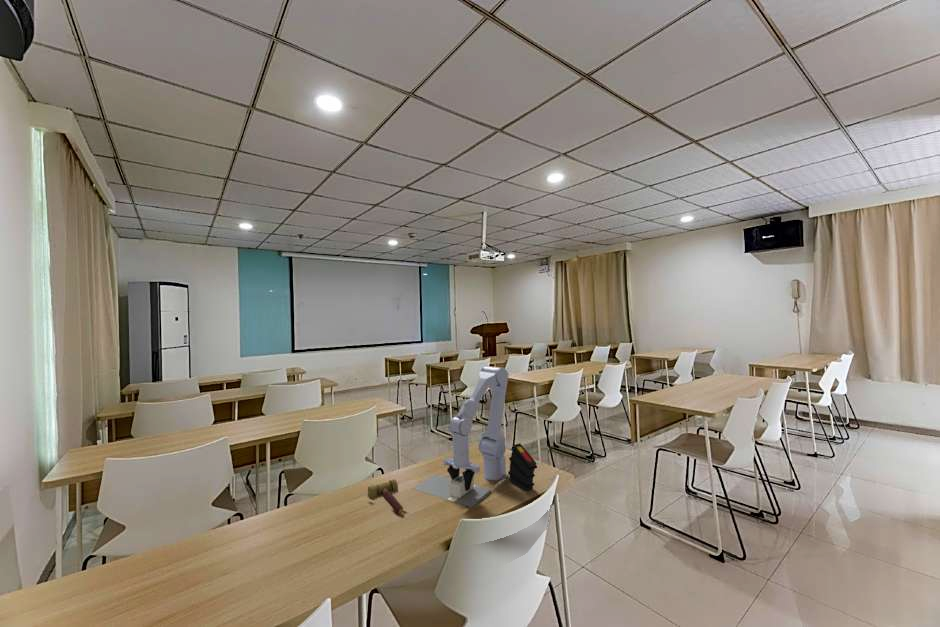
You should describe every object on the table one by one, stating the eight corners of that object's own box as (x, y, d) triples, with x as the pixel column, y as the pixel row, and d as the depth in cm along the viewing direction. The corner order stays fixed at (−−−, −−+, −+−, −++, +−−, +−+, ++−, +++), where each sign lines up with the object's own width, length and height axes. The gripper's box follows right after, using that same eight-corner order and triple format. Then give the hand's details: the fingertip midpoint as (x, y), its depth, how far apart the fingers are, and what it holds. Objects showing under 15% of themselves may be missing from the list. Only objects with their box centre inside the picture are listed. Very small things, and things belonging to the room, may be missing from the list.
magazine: (511, 471, 154) (520, 442, 148) (530, 497, 143) (541, 467, 138) (503, 473, 152) (512, 444, 146) (522, 500, 142) (533, 470, 136)
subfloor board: (435, 476, 155) (435, 474, 155) (491, 492, 140) (491, 489, 140) (412, 491, 143) (411, 488, 143) (469, 509, 129) (469, 506, 129)
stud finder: (464, 484, 144) (463, 472, 144) (473, 487, 142) (473, 474, 141) (449, 494, 136) (449, 481, 136) (459, 497, 134) (459, 484, 134)
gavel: (417, 503, 128) (388, 512, 123) (417, 516, 129) (388, 526, 123) (393, 477, 146) (367, 484, 140) (393, 488, 146) (367, 496, 141)
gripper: (438, 450, 140) (439, 487, 140) (471, 458, 131) (472, 497, 132) (449, 444, 145) (450, 480, 146) (482, 451, 137) (483, 489, 138)
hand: (462, 487), depth 139 cm, fingers closed on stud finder, 4 cm apart
